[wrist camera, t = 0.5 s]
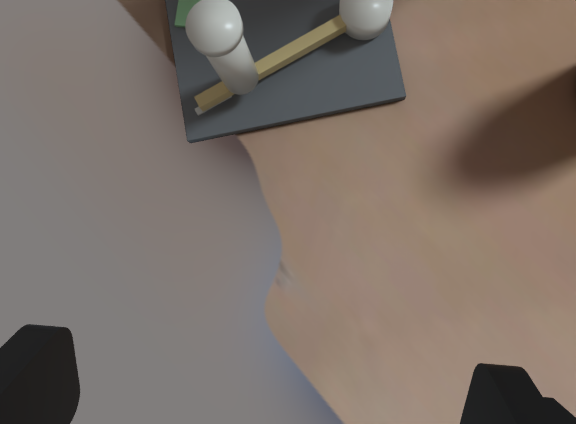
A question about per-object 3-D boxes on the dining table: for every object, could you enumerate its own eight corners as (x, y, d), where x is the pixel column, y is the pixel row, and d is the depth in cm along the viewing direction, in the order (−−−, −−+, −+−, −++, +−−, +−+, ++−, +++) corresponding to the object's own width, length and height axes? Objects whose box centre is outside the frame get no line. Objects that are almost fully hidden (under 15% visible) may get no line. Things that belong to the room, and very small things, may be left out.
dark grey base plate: (166, -11, 38) (161, -19, 37) (370, -60, 37) (372, -69, 36) (190, 143, 37) (185, 139, 36) (404, 99, 35) (406, 94, 34)
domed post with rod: (374, -17, 35) (389, -114, 26) (398, 24, 35) (423, -60, 25) (190, 87, 36) (141, 29, 27) (212, 128, 36) (169, 84, 26)
